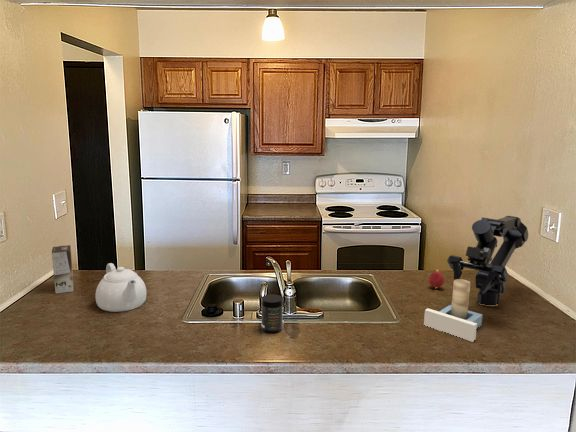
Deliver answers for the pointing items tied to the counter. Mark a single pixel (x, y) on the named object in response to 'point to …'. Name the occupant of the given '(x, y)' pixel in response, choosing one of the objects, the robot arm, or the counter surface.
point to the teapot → (120, 290)
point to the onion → (436, 279)
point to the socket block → (470, 315)
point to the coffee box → (62, 269)
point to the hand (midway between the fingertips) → (467, 289)
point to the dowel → (460, 298)
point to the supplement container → (272, 313)
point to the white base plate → (450, 324)
